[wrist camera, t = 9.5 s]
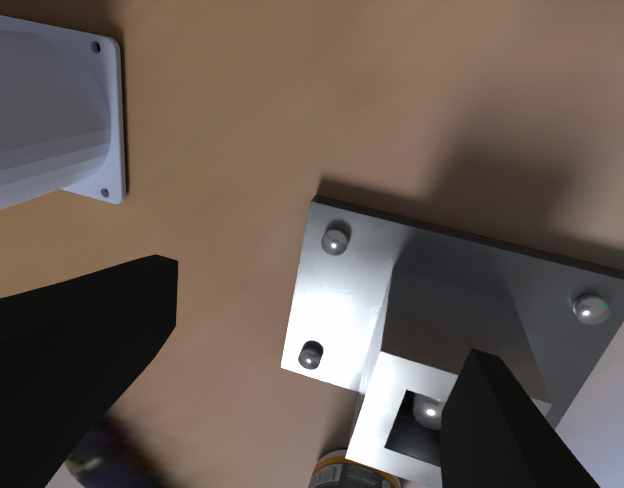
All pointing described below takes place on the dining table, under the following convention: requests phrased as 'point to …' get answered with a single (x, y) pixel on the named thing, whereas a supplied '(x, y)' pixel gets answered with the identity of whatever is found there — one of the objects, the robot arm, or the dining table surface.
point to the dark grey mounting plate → (449, 269)
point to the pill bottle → (349, 474)
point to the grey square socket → (429, 369)
